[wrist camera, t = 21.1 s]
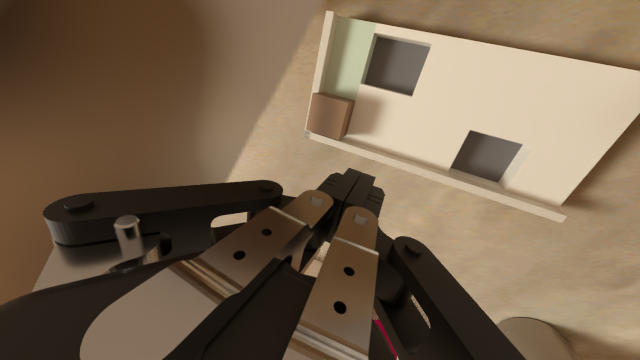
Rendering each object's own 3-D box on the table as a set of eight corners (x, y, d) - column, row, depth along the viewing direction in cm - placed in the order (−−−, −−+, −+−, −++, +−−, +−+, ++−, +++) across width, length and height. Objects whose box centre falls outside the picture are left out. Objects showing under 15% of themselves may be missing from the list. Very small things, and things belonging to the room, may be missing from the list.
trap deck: (642, 77, 23) (693, 76, 19) (541, 203, 31) (561, 223, 26) (338, 20, 32) (326, 10, 27) (315, 130, 39) (303, 136, 35)
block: (355, 100, 32) (348, 102, 28) (346, 134, 34) (338, 140, 31) (323, 91, 33) (312, 92, 30) (316, 125, 35) (305, 129, 32)
